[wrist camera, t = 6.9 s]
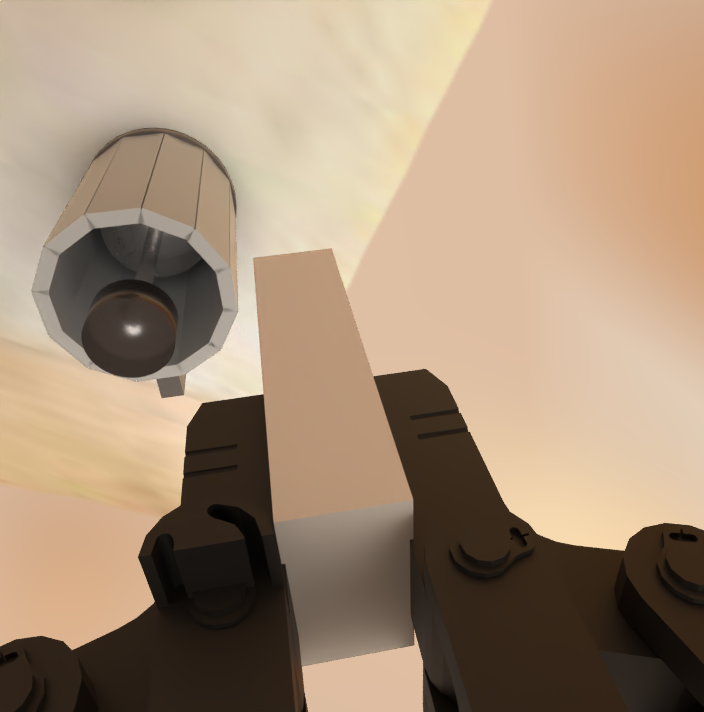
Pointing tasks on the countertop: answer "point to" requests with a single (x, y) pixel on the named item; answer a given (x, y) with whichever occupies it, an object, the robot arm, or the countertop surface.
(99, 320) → the plunger
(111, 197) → the press beaker
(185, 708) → the robot arm
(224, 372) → the countertop surface
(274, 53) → the countertop surface
